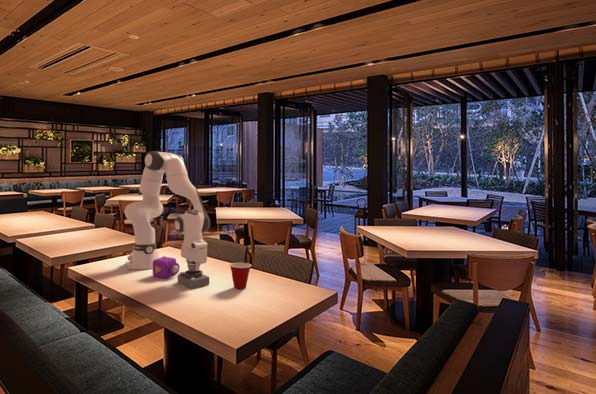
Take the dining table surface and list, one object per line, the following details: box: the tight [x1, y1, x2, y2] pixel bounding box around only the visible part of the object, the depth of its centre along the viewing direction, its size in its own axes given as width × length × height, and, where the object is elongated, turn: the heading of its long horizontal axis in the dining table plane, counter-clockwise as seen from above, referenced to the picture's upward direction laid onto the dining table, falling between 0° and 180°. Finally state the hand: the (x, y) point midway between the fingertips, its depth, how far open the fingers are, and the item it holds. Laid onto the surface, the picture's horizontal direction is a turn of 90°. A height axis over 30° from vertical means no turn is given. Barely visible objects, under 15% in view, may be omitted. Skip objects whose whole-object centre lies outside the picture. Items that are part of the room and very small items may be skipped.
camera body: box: [177, 269, 210, 290], centre depth 190 cm, size 14×10×6 cm
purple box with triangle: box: [152, 255, 181, 279], centre depth 202 cm, size 11×14×10 cm
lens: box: [187, 261, 199, 274], centre depth 189 cm, size 5×5×7 cm
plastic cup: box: [229, 262, 252, 290], centre depth 184 cm, size 11×11×12 cm
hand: (193, 268), depth 189 cm, fingers open, 6 cm apart
